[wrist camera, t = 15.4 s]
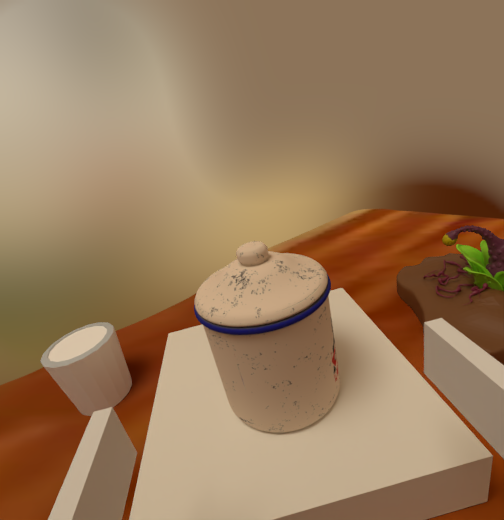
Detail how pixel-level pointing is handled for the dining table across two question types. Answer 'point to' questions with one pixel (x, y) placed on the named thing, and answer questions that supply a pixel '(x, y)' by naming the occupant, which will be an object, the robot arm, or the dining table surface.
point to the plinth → (308, 442)
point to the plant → (461, 290)
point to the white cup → (89, 367)
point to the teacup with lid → (272, 337)
